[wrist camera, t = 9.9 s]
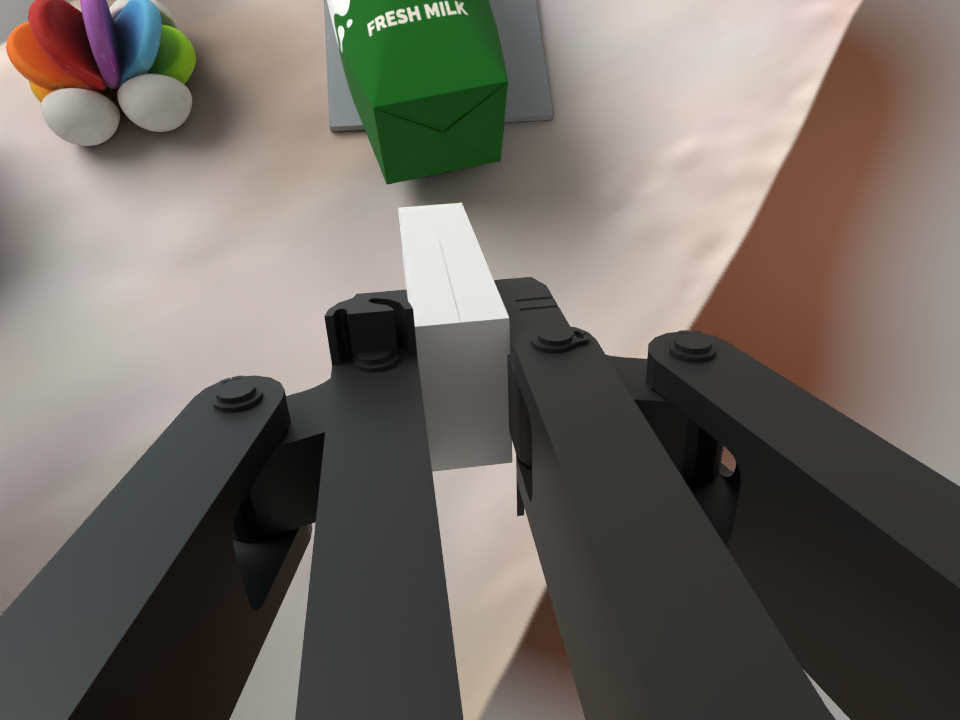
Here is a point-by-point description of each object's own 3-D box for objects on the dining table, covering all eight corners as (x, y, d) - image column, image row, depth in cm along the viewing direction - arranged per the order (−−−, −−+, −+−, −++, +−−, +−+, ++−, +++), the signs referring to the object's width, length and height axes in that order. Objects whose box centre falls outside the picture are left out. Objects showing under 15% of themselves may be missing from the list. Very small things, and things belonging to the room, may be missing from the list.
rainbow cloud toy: (42, 51, 44) (-32, -47, 37) (197, 25, 46) (153, -74, 39) (53, 164, 42) (-23, 83, 35) (216, 134, 43) (173, 49, 36)
